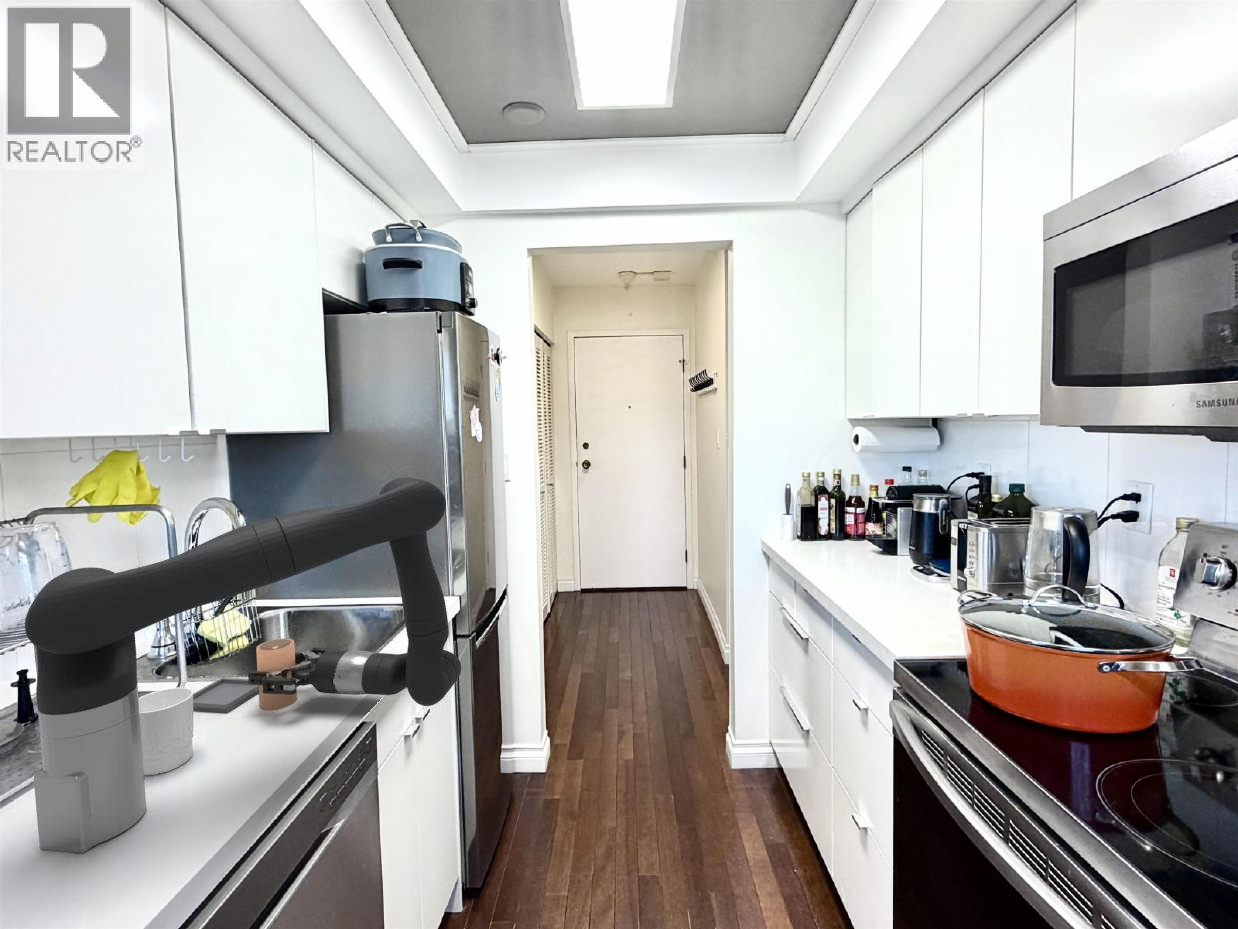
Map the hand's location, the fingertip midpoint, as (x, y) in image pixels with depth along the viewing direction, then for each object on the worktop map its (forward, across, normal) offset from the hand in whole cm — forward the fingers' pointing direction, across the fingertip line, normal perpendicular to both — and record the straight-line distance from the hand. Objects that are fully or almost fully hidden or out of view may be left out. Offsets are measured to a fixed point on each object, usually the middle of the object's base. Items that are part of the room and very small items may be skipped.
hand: (267, 667), depth 104 cm
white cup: (+2, +19, +7) cm, 20 cm away
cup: (-2, 0, +6) cm, 7 cm away
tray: (+9, 0, +6) cm, 11 cm away
